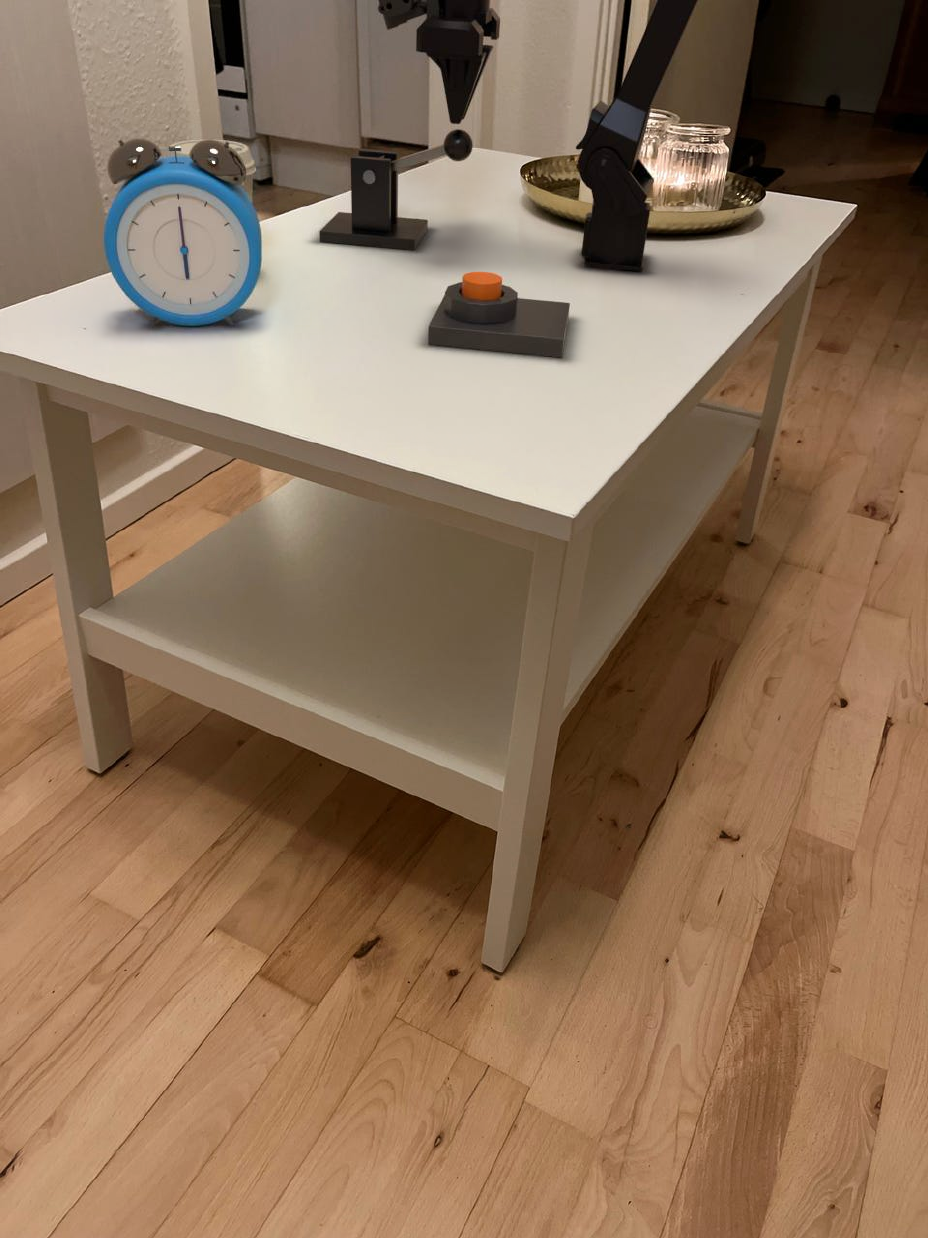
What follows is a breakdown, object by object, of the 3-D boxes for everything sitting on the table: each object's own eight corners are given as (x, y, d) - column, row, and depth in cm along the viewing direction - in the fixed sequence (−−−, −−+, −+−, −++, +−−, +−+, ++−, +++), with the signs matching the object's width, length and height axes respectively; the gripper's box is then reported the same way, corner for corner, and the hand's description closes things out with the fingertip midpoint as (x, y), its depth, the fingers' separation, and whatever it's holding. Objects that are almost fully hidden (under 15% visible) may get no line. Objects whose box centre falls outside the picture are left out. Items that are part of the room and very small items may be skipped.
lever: (477, 153, 110) (469, 122, 109) (474, 158, 108) (465, 127, 106) (371, 186, 114) (361, 157, 112) (365, 192, 111) (355, 163, 110)
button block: (568, 320, 95) (572, 283, 93) (561, 357, 87) (566, 318, 85) (445, 308, 96) (446, 272, 94) (427, 344, 88) (428, 305, 86)
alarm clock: (116, 330, 87) (86, 145, 78) (124, 306, 92) (96, 130, 83) (266, 328, 89) (254, 148, 81) (266, 305, 94) (254, 133, 85)
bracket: (427, 229, 119) (429, 150, 114) (414, 250, 112) (415, 166, 106) (338, 221, 120) (336, 142, 115) (319, 241, 112) (316, 158, 107)
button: (502, 292, 91) (504, 273, 90) (498, 304, 88) (499, 285, 87) (464, 288, 92) (465, 269, 90) (458, 301, 89) (459, 281, 88)
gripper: (402, -59, 106) (401, 102, 116) (364, -55, 91) (365, 130, 101) (505, -53, 105) (495, 109, 115) (482, -47, 90) (473, 139, 100)
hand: (457, 121), depth 107 cm, fingers closed
